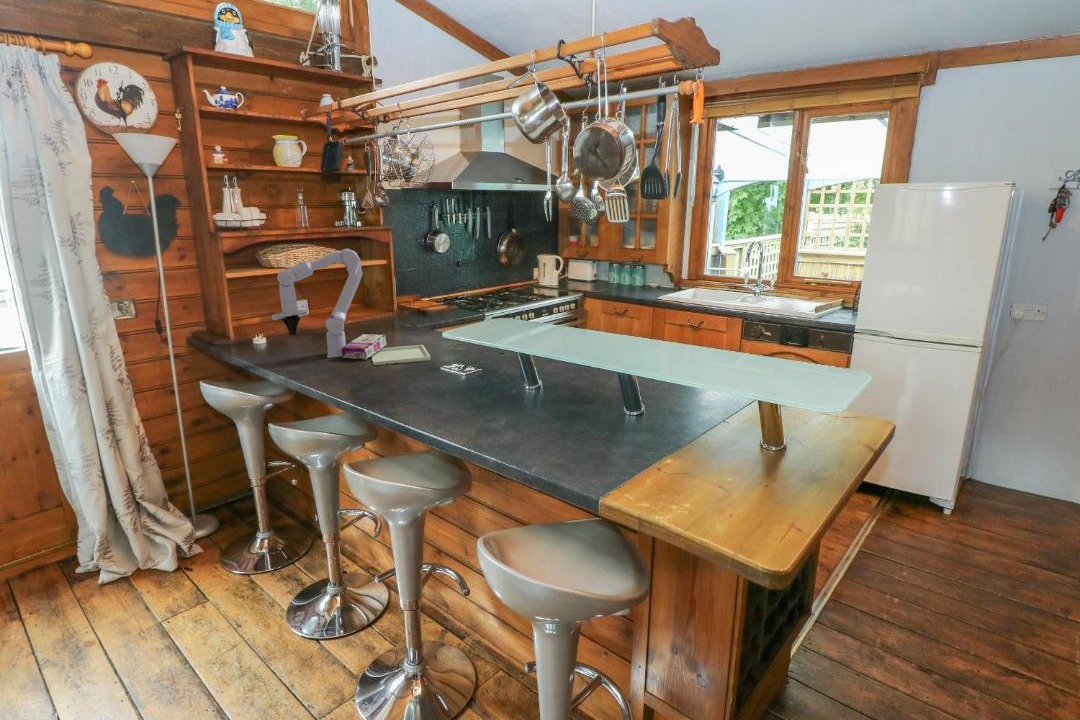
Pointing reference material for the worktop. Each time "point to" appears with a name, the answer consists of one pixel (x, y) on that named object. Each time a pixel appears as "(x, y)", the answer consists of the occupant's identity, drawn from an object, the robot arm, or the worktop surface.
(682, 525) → the worktop surface
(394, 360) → the tray
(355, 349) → the candy bar box
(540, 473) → the worktop surface
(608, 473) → the worktop surface
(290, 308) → the robot arm
